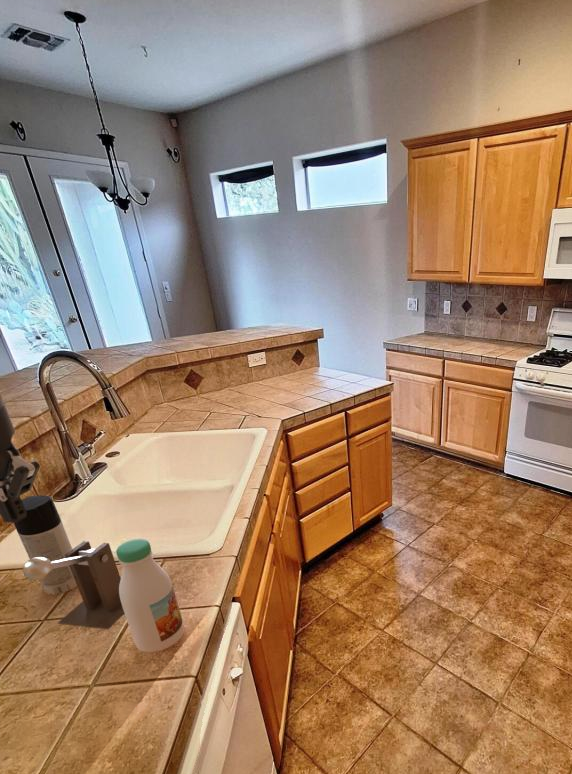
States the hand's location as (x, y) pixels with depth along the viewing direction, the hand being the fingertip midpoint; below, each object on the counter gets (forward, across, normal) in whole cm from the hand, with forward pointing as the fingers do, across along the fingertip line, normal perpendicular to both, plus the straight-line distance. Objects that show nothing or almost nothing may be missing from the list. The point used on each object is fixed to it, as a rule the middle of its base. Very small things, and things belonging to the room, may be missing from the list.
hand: (16, 519), depth 64 cm
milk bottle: (+25, -15, -3) cm, 30 cm away
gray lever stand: (+25, 0, -9) cm, 27 cm away
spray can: (+25, +13, -13) cm, 31 cm away
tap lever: (+13, 0, -4) cm, 13 cm away
